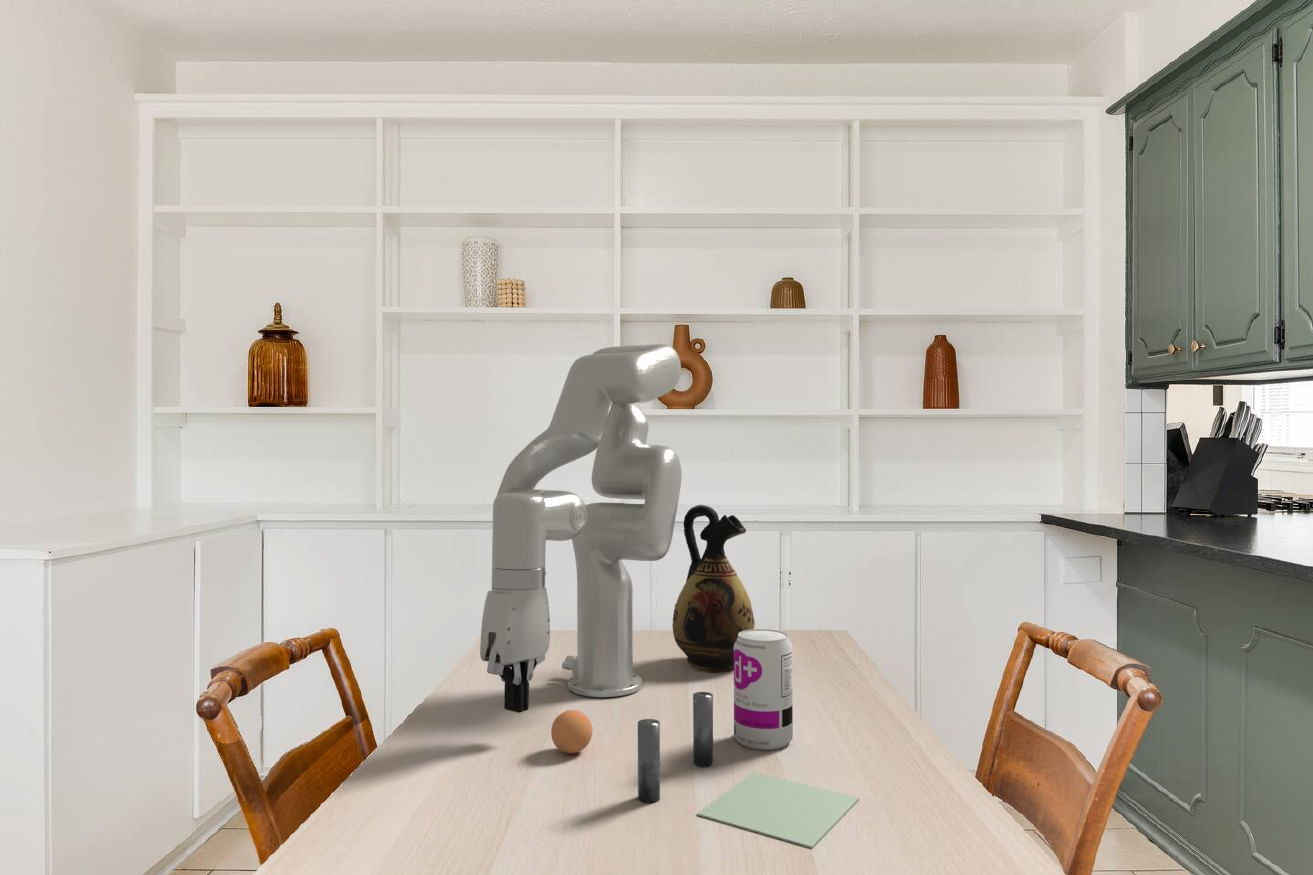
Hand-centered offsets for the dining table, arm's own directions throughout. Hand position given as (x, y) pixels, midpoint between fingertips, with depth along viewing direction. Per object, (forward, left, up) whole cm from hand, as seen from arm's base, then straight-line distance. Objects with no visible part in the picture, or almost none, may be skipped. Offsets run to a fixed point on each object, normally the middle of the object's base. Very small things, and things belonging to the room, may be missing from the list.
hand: (516, 709), depth 118 cm
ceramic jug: (+3, +49, -5) cm, 49 cm away
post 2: (+26, +7, -4) cm, 28 cm away
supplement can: (+29, +19, -5) cm, 35 cm away
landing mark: (+40, +1, -4) cm, 41 cm away
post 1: (+26, -5, -4) cm, 27 cm away
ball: (+9, +1, -2) cm, 9 cm away
